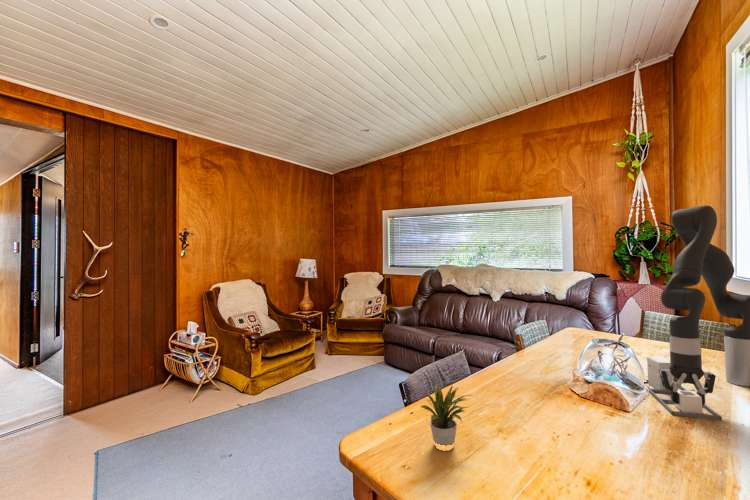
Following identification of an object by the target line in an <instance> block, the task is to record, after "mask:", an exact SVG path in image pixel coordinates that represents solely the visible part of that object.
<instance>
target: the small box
mask: <svg viewBox="0 0 750 500" xmlns="http://www.w3.org/2000/svg"><path fill="white" fill-rule="evenodd" d="M646 363H647V364H646V365H647V380H648V383H647V384H648V385H649V386H651V387H652V388H653V389H659V390H667V389H666V388H665V387H663V385H662V381H661V377H660V373H659V369H663V370H665V369H669V368H670V366H671V363H670V359H668V358H665V357H663V356H647V357H646ZM673 377H674V376H673V375H672V374H671V373H670V374H669V376H668V381H669V385H671V383H672V379H673Z"/></svg>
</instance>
